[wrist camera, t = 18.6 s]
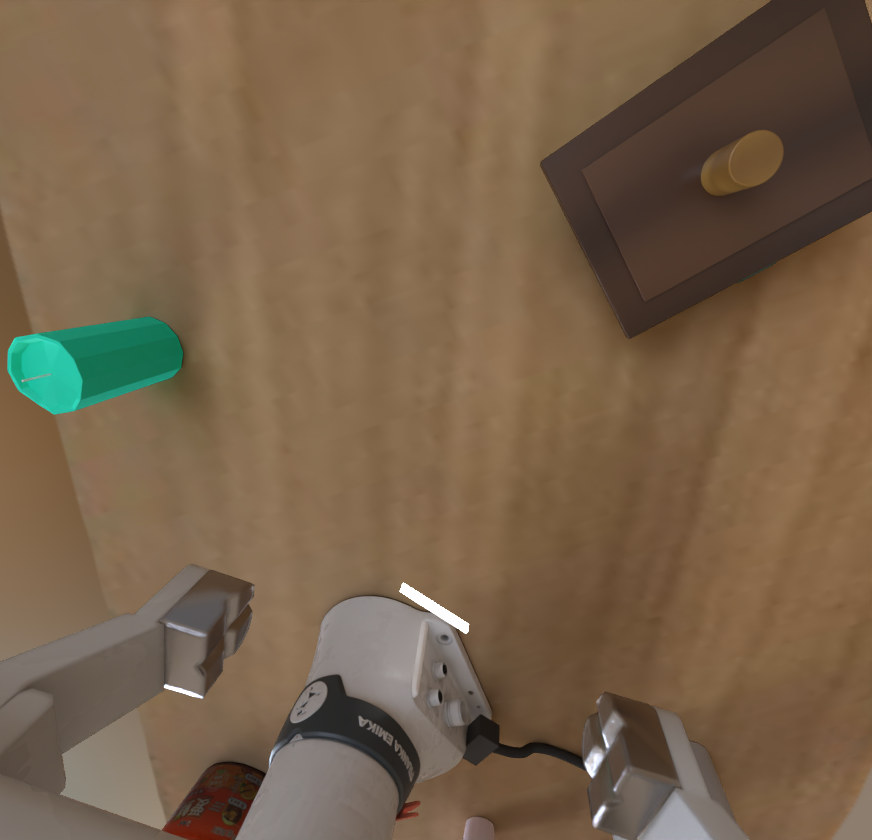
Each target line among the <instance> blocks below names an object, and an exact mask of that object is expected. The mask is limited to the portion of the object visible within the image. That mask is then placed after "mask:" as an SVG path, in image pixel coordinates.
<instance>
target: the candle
mask: <svg viewBox="0 0 872 840" xmlns="http://www.w3.org/2000/svg"><path fill="white" fill-rule="evenodd" d="M182 359H183V350H182V348H181V345H180V342H179V339H178V336H177V335H176V334H175V333H174V332H173V331H172V330H171V329H170V328H169V326H168V325H167V324H166V323H164V322H162V321H159V320H157V319H154V318H152V317H144V318H137V319H131V320H124V321H117V322H111V323H104V324H98V325H91V326H84V327H78V328H71V329H65V330H58V331H52V332H45V333H38V334H32V335H27V336H21V337H16V338H15V339H14V341H13V342H12V344H11V346H10V348H9V350H8V372H9V374H10V376H11V378H12V380H13V382H14V383H15V385H16V387H17V389H18V390H19V391H20V392H21V393H23V394H24V395H26V396H27V397H28V398H30V399H31V400H33V401H34V402H36V403H37V404H38V405H40V406H41V407H43V408H45V409H46V410H48V411H50V412H51V413H53V414H60V413H65V412H71V411H76V410H79V409H81V408H84V407H87V406H90V405H93V404H96V403H99V402H102V401H105V400H108V399H111V398H114V397H117V396H119V395H122V394H125V393H128V392H131V391H134V390H137V389H140V388H143V387H146V386H149V385H152V384H155V383H157V382H160V381H163V380H166V379H169V378H172V377H173V376H174V375H175V374H176V373H177V372H178V371H179V370H180V369H181V366H182Z"/></svg>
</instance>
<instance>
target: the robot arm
mask: <svg viewBox="0 0 872 840" xmlns="http://www.w3.org/2000/svg"><path fill="white" fill-rule="evenodd" d="M400 592H401V593H402V594H404V595H406V596H407V597H409V598H410V599H412V600H414V601H415V602H417V603H418V604H420V605H421V606H423V607H425V608H426V609H428V610H429V611H431V612H433V613H429V612H422V611H419V610H416V609H414V608H412V607H410V606H408V605H406V604H403V603H401V602H398V601H396V600H392V599H389V598H384V597H377V596H362V597H355V598H351V599H348V600H345V601H343V602H341V603H339V604H337V605H336V606H334V607H333V608H332V609H331V610H330V611H329V612H328V613H327V614H326V616H325V617H324V619H323V621H322V624H321V627H320V633H319V640H318V645H317V649H316V653H315V657H314V660H313V664H312V667H311V670H310V673H309V676H308V679H307V682H306V685H305V688H304V690H303V691H302V693H301V694H300V696H299V697H298V699H297V701H296V702H295V704H294V706H293V708H292V709H291V711H290V713H289V715H288V717H287V719H286V721H285V724H284V726H283V728H282V730H281V732H280V734H279V736H278V739H277V741H276V743H275V745H274V748H273V750H272V752H271V754H270V758H269V770H268V772H267V774H266V776H265V778H264V780H263V782H262V784H261V786H260V789H259V791H258V793H257V795H256V797H255V799H254V801H253V803H252V805H251V808H250V810H249V812H248V814H247V816H246V818H245V820H244V822H243V825H242V827H241V829H240V831H239V833H238V835H237V837H236V839H235V840H392V834H393V829H394V825H395V821H398V820H403V819H407V818H412V817H416V816H418V813H416V812H414V813H407V812H408V811H412V810H413V809H415V808H416V807H418V806H419V805H420V801H414V802H410V803H405V802H406V800H407V798H408V796H409V794H410V792H411V790H412V788H413V786H414V784H417V783H420V782H423V781H426V780H428V779H431V778H434V777H436V776H439V775H441V774H444V773H446V772H447V771H449V770H451V769H452V768H454V767H455V766H456V765H457V764H458V763H459V762H460V761H461V759H462V758H464V759H466V760H467V761H469V762H471V763H472V764H474V765H477V764H479V763H480V762H481V761H482V760H483V759H484V758H486V757H487V756H488V755H489V754H490V753H492V752H493V753H497V754H500V755H503V756H507V757H511V758H525V757H527V756H529V755H530V754H532V753H542V754H547V755H550V756H554V757H556V758H559V759H562V760H564V761H566V762H569V763H571V764H573V765H575V766H577V767H579V768H581V769H583V770H586V771H588V773H589V774H590V776H591V777H592V779H593V780H592V781H591V783H590V785H589V787H588V788H587V791H588V798H589V804H590V811H591V817H592V824H593V827H594V828H596V829H599V830H602V831H605V832H607V833H610V834H613V835H616V836H619V837H621V838H624V839H627V840H750V838H749V837H748V836H747V835H746V834H745V832H744V831H743V830H742V829H741V828H740V826H739V825H738V824H737V823H736V822H735V820H734V819H733V818H732V817H731V816H730V814H729V813H728V812H727V811H726V810H725V808H724V807H723V806H722V805H721V804H720V802H718V801H716V800H713V799H711V797H710V795H709V792H708V789H707V787H706V784H705V781H704V779H703V776H702V774H701V771H700V768H699V766H698V763H697V761H696V758H695V755H694V753H693V750H692V747H691V745H690V742H689V740H688V737H687V734H686V732H685V729H684V727H683V724H682V721H681V719H680V717H679V716H678V715H677V714H676V713H675V712H672V711H669V710H665V709H662V708H659V707H655V706H650V705H649V704H646V703H643V702H639V701H636V700H633V699H629V698H626V697H622V696H619V695H616V694H612V693H609V692H604V693H602V694H601V695H600V697H599V699H598V700H597V702H596V703H597V708H598V712H597V713H595V714H592V715H590V716H589V717H588V719H587V722H586V724H585V726H584V730H583V736H582V757H583V758H581V757H579V756H577V755H574V754H572V753H570V752H568V751H565V750H563V749H560V748H557V747H554V746H551V745H548V744H543V743H536V742H533V743H528V744H526V745H525V746H523V747H511V746H507V745H504V744H500V743H499V725H498V724H496V723H495V722H493V721H492V720H491V717H492V711H491V708H490V706H489V703H488V701H487V699H486V696H485V694H484V692H483V690H482V687H481V685H480V683H479V680H478V678H477V676H476V674H475V671H474V669H473V667H472V665H471V662H470V660H469V658H468V655H467V653H466V651H465V649H464V646H463V644H462V642H461V639H460V637H459V635H458V633H457V630H456V628H458V629H459V630H461V631H463V632H464V633H467V632H468V628H469V624H468V623H466V622H465V621H463V620H462V619H460V618H459V617H457V616H455V615H454V614H452V613H451V612H449V611H447V610H446V609H444V608H443V607H441V606H440V605H438V604H436V603H435V602H433V601H432V600H430V599H429V598H427V597H425V596H424V595H422V594H421V593H419V592H417V591H416V590H414V589H413V588H411V587H410V586H408V585H406V584H405V583H403V584H402V586H401V589H400ZM253 597H254V585H253V584H252V583H249V582H246V581H244V580H241V579H238V578H235V577H232V576H229V575H226V574H223V573H220V572H217V571H214V570H210V569H207V568H204V567H201V566H198V565H195V564H191V565H189V566H186V567H185V568H183V569H182V570H181V571H180V572H179V573H178V574H177V575H176V576H175V577H174V578H173V579H172V580H171V581H169V582H168V583H167V584H166V585H165V586H164V587H163V588H162V589H161V590H160V591H159V592H158V593H157V594H156V595H155V596H153V597H152V598H151V599H150V600H149V601H148V602H147V603H146V604H145V605H144V606H143V607H142V608H141V609H140V610H138V611H137V612H136V613H135V614H134V615H133V614H130V613H126V614H123V615H121V616H118V617H116V618H113V619H110V620H108V621H105V622H103V623H100V624H97V625H94V626H92V627H90V628H87V629H84V630H81V631H79V632H76V633H73V634H71V635H68V636H66V637H63V638H60V639H58V640H55V641H52V642H50V643H48V644H45V645H42V646H39V647H37V648H34V649H31V650H29V651H26V652H24V653H21V654H18V655H16V656H13V657H10V658H8V659H5V660H2V661H0V840H187V839H185V838H182V837H179V836H176V835H173V834H170V833H168V832H165V831H162V830H159V829H156V828H153V827H151V826H148V825H145V824H142V823H139V822H136V821H133V820H131V819H128V818H125V817H122V816H119V815H117V814H114V813H111V812H108V811H105V810H102V809H99V808H96V807H94V806H91V805H88V804H85V803H83V802H80V801H77V800H74V799H71V798H68V797H66V796H63V795H60V793H61V792H62V791H63V790H64V788H65V782H66V777H65V770H64V764H63V757H62V754H63V753H64V752H66V751H68V750H69V749H71V748H72V747H74V746H76V745H77V744H79V743H80V742H82V741H84V740H85V739H87V738H88V737H90V736H92V735H93V734H95V733H96V732H98V731H100V730H101V729H103V728H105V727H106V726H108V725H109V724H111V723H113V722H114V721H116V720H117V719H119V718H121V717H122V716H124V715H125V714H127V713H128V712H130V711H132V710H133V709H135V708H137V707H138V706H140V705H141V704H143V703H145V702H146V701H148V700H149V699H151V698H153V697H154V696H156V695H157V694H159V693H161V692H162V691H164V688H168V689H171V690H175V691H178V692H181V693H185V694H188V695H192V696H195V697H199V698H202V699H203V698H204V696H205V695H206V694H207V692H208V691H209V689H210V688H211V687H212V685H213V684H214V682H215V681H216V679H217V678H218V677H219V675H220V674H221V672H222V671H223V659H225V658H227V657H229V656H231V655H233V654H235V652H236V651H237V649H238V648H239V647H240V645H241V644H242V642H243V640H244V638H245V636H246V634H247V632H248V629H249V626H250V623H251V619H252V609H251V608H250V606H249V604H248V603H249V602H250V601H251V599H252V598H253ZM455 627H456V628H455ZM445 635H447V636H445ZM404 803H405V804H404Z"/></svg>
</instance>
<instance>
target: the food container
mask: <svg viewBox="0 0 872 840" xmlns="http://www.w3.org/2000/svg"><path fill="white" fill-rule="evenodd" d="M265 776H266V775H264V774H263V773H262V772H260V771H257V770H255V769H253V768H251V767H248V766H245V765H242V764H236V763H220V764H215V765H213V766H211V767H209V768H208V769H206V770H205V771H204V773H203V774H202V775H201V777H200V778H199V779H198V781H197V782H196V784H195V785H194V786H193V788H192V789H191V791H190V792H189V793H188V795H187V796H186V798H185V799H184V800H183V802H182V803H181V804H180V806H179V807H178V809H177V810H176V811H175V813H174V814H173V815H172V817H171V818H170V820H169V821H168V822H167V824H166V825H165V826H164V828H163V829H162V831H165V832H168V833H170V834H173V835H176V836H179V837H182V838H185V839H187V840H235V839H236V837H237V835H238V833H239V831H240V829H241V827H242V825H243V822H244V820H245V818H246V816H247V814H248V812H249V810H250V808H251V805H252V803H253V801H254V799H255V797H256V795H257V793H258V791H259V789H260V786H261V784H262V782H263V780H264V778H265Z"/></svg>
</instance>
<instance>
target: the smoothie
mask: <svg viewBox="0 0 872 840" xmlns="http://www.w3.org/2000/svg"><path fill="white" fill-rule="evenodd" d="M463 840H495V834H494V826H493V824H492V823H491V822H490V821H489V820H487V819H485V818H482V817H471V818H469V819H468V820H467V821H466V826H465V831H464V837H463Z"/></svg>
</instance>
